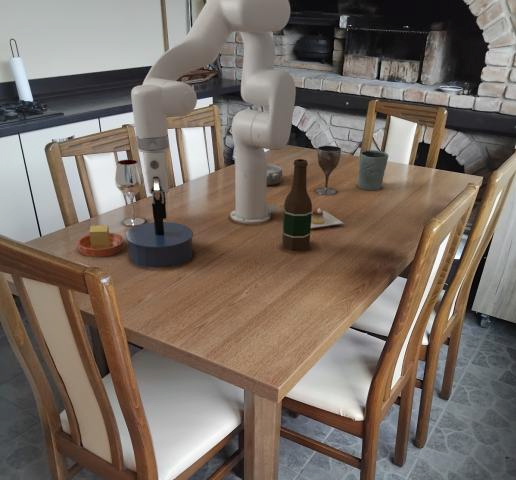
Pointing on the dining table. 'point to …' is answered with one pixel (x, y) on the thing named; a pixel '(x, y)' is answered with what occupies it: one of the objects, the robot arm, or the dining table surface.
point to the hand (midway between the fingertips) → (159, 211)
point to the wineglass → (129, 185)
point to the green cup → (372, 169)
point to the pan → (161, 255)
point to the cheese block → (99, 237)
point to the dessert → (323, 219)
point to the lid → (159, 234)
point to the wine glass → (328, 164)
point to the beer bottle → (297, 211)
